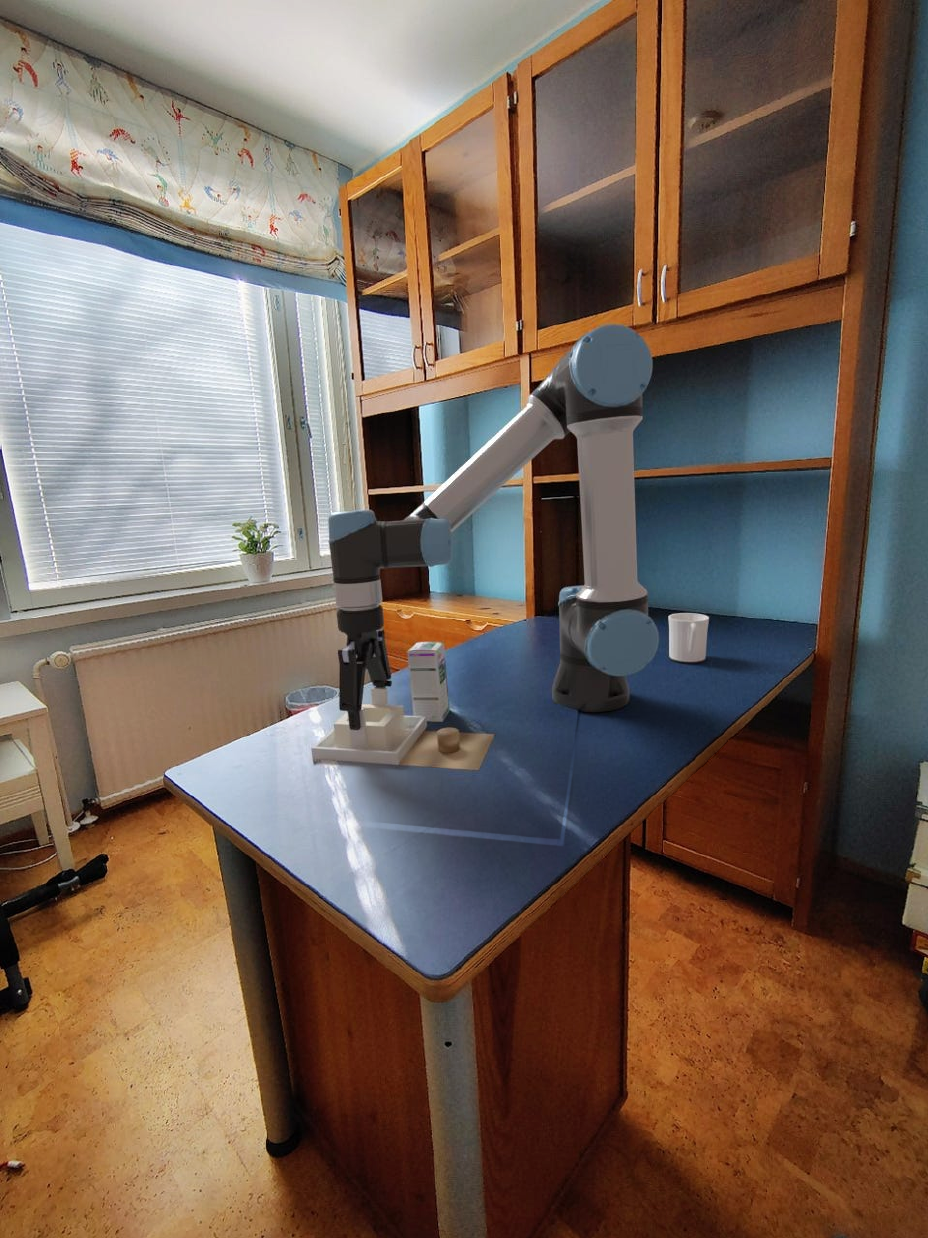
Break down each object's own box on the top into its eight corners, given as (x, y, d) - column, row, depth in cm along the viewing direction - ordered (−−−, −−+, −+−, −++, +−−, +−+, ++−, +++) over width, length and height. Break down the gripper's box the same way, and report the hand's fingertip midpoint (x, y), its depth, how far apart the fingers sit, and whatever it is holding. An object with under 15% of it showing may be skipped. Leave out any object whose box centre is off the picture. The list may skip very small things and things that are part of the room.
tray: (427, 729, 105) (426, 716, 104) (398, 768, 90) (397, 753, 90) (351, 725, 108) (350, 713, 108) (312, 762, 94) (311, 748, 94)
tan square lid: (495, 737, 100) (494, 718, 99) (478, 773, 87) (477, 752, 86) (423, 733, 103) (422, 715, 102) (398, 768, 90) (396, 747, 90)
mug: (663, 654, 141) (664, 613, 139) (701, 653, 140) (703, 612, 138) (673, 667, 131) (674, 624, 129) (714, 667, 130) (716, 623, 127)
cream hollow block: (358, 729, 105) (356, 703, 104) (418, 732, 102) (416, 706, 101) (336, 751, 96) (333, 723, 95) (401, 755, 93) (398, 727, 92)
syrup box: (443, 724, 106) (438, 649, 103) (412, 723, 107) (406, 649, 104) (450, 713, 112) (445, 641, 109) (420, 712, 113) (415, 641, 110)
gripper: (364, 593, 105) (375, 708, 110) (305, 621, 85) (321, 761, 90) (403, 593, 103) (412, 710, 108) (352, 621, 83) (365, 764, 88)
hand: (371, 733), depth 99 cm, fingers closed on cream hollow block, 9 cm apart
